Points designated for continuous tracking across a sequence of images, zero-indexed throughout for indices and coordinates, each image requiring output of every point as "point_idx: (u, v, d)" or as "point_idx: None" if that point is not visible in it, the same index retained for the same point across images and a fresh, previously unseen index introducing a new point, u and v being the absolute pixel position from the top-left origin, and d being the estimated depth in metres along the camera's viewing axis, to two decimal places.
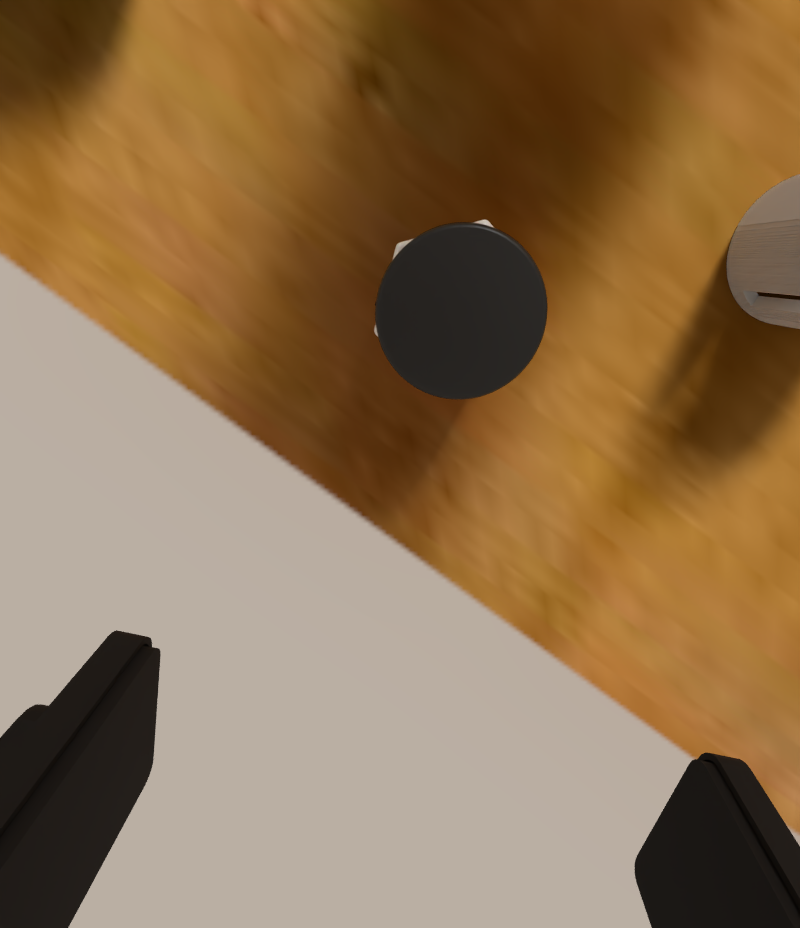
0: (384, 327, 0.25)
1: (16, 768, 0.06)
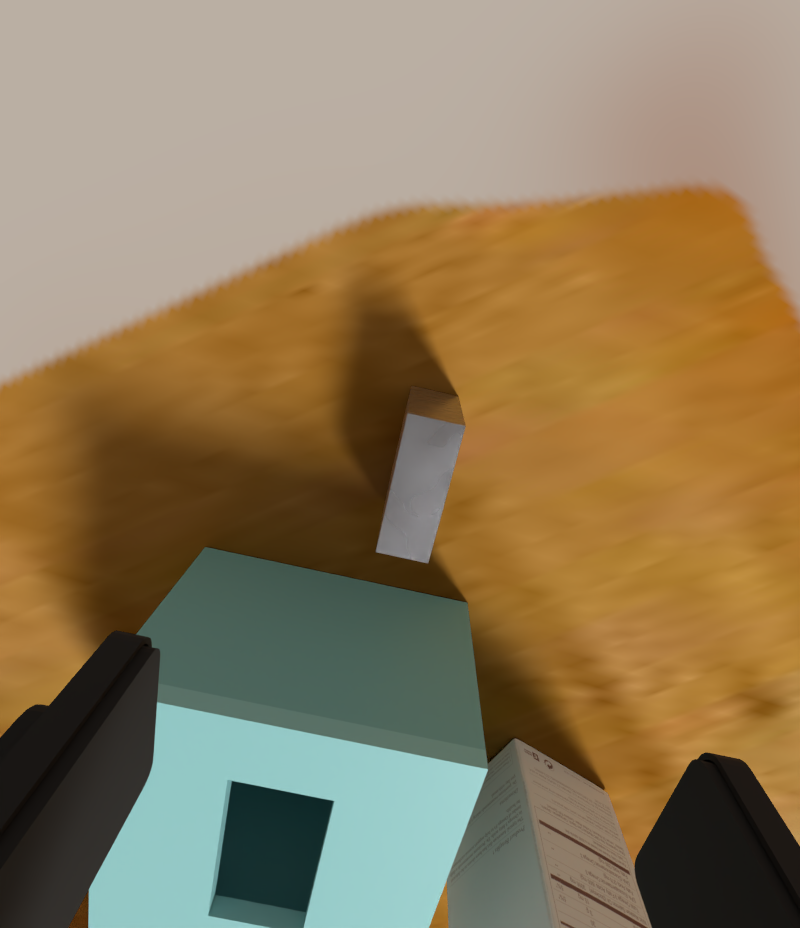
0: None
1: (16, 768, 0.06)
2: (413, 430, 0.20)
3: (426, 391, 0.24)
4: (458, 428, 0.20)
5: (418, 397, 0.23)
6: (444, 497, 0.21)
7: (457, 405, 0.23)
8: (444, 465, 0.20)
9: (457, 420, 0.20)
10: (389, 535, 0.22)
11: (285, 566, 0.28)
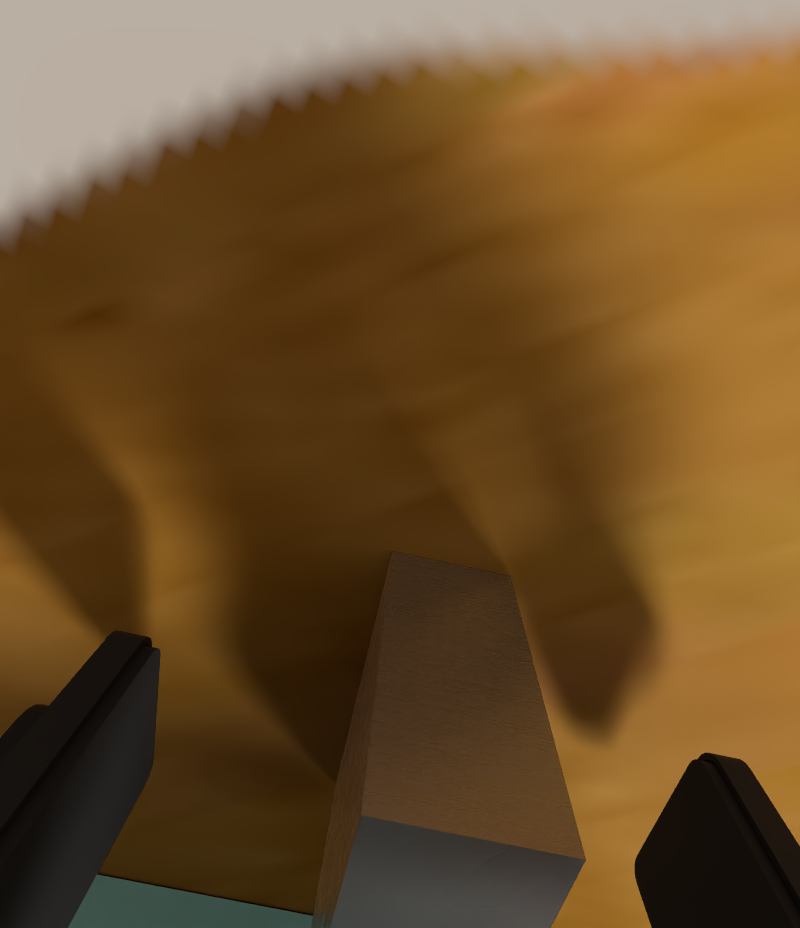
0: None
1: (16, 768, 0.06)
2: (385, 864, 0.05)
3: (430, 575, 0.09)
4: (557, 863, 0.05)
5: (408, 627, 0.08)
6: None
7: (519, 644, 0.08)
8: None
9: (545, 799, 0.06)
10: None
11: (131, 890, 0.13)
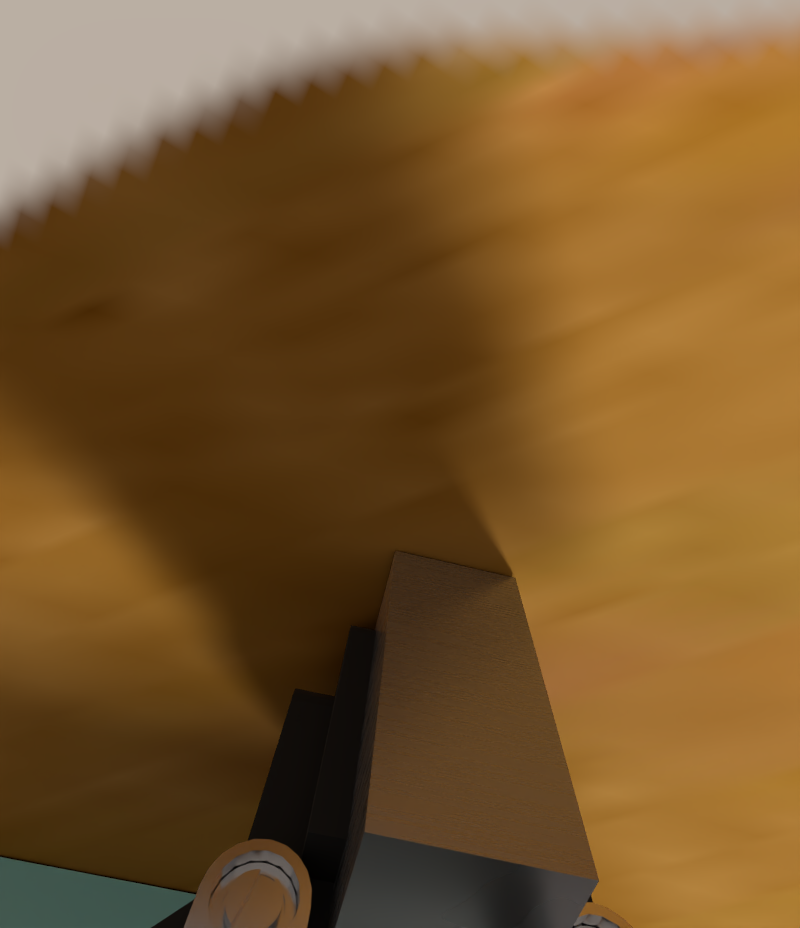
0: None
1: (342, 736, 0.07)
2: (388, 882, 0.05)
3: (434, 578, 0.09)
4: (568, 883, 0.05)
5: (412, 631, 0.08)
6: None
7: (526, 650, 0.08)
8: None
9: (556, 815, 0.05)
10: None
11: (130, 891, 0.13)
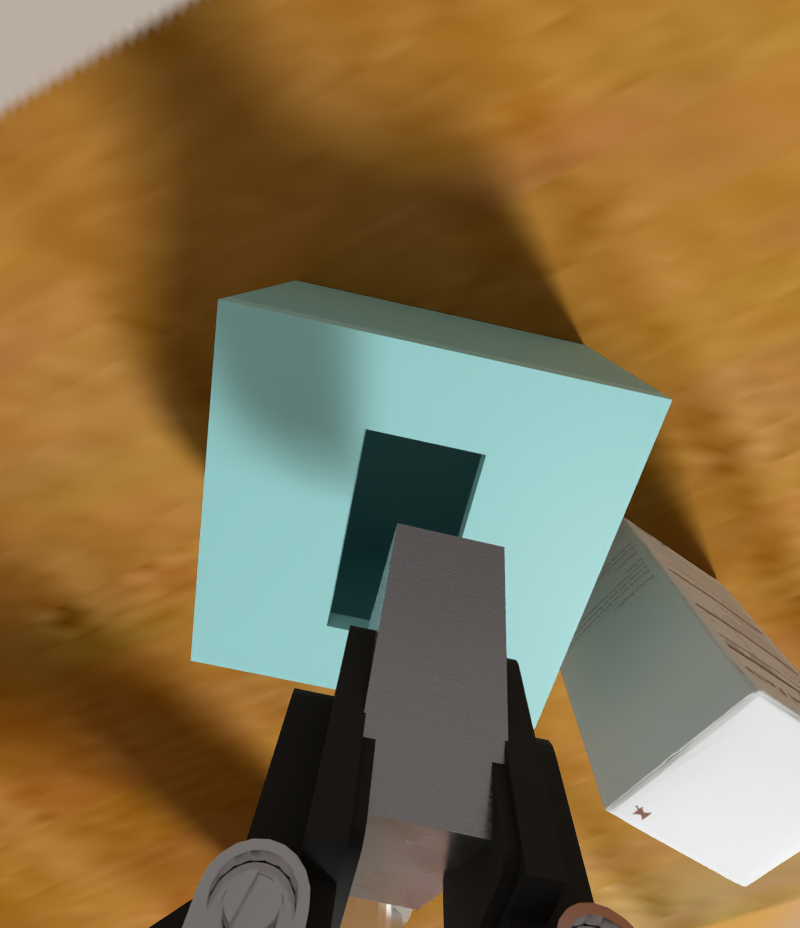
0: None
1: (341, 736, 0.07)
2: (366, 827, 0.07)
3: (429, 555, 0.10)
4: (489, 841, 0.07)
5: (402, 620, 0.09)
6: None
7: (498, 632, 0.09)
8: (450, 864, 0.08)
9: (489, 792, 0.07)
10: None
11: (385, 300, 0.25)
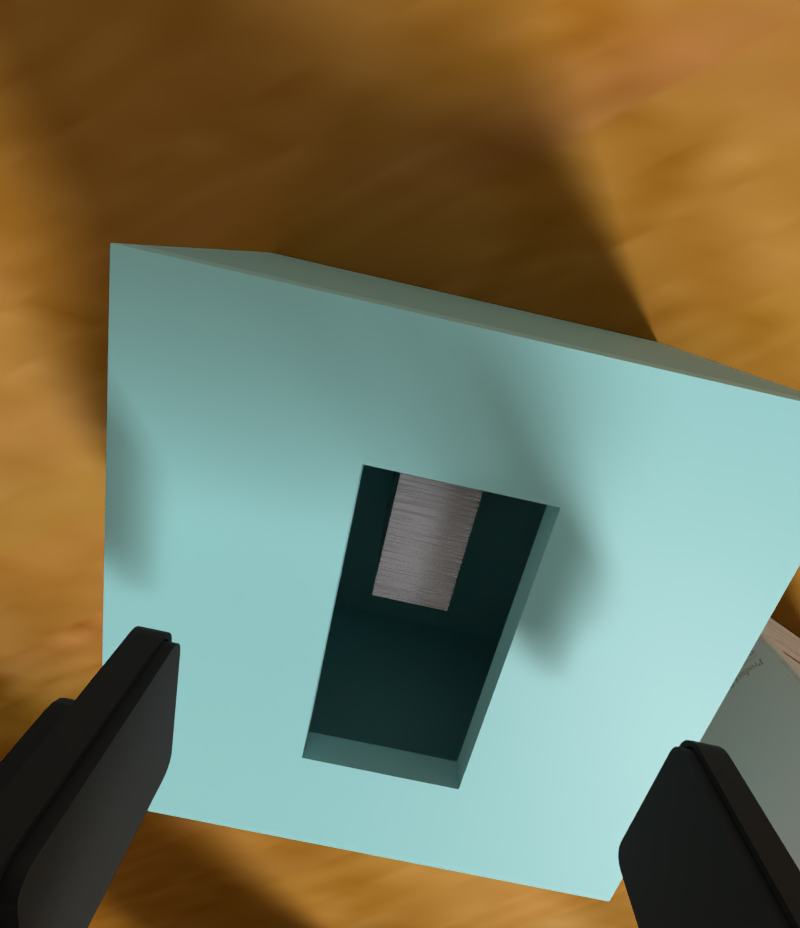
0: None
1: (48, 757, 0.06)
2: None
3: None
4: None
5: (406, 507, 0.14)
6: None
7: (470, 516, 0.14)
8: None
9: (442, 592, 0.15)
10: None
11: (391, 280, 0.18)
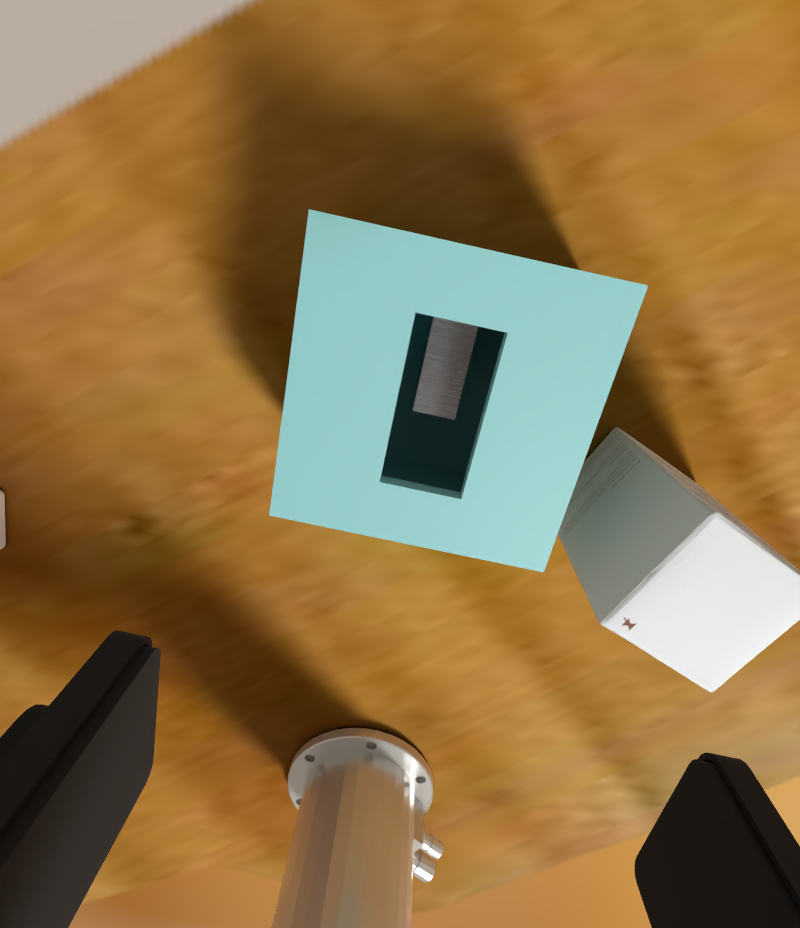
0: None
1: (16, 768, 0.06)
2: None
3: (446, 328, 0.26)
4: (450, 417, 0.28)
5: (432, 356, 0.26)
6: None
7: (466, 360, 0.26)
8: None
9: (451, 408, 0.27)
10: None
11: None
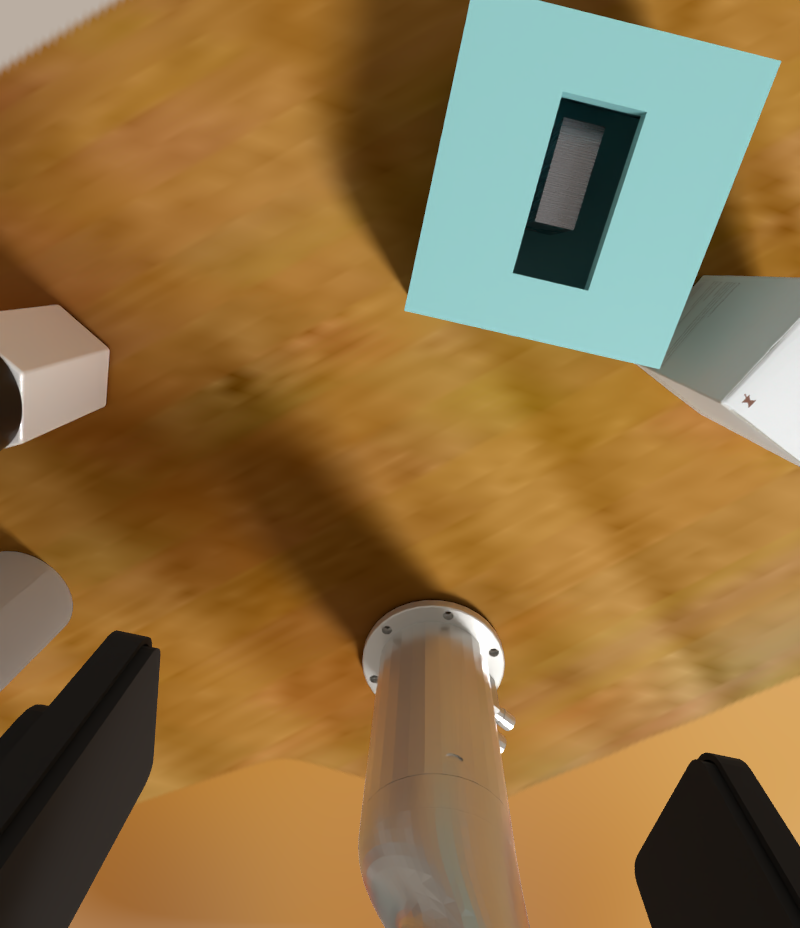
0: None
1: (16, 768, 0.06)
2: (538, 223, 0.30)
3: (573, 133, 0.28)
4: (569, 229, 0.29)
5: (558, 163, 0.28)
6: (560, 232, 0.32)
7: (590, 168, 0.28)
8: (559, 230, 0.31)
9: (572, 218, 0.29)
10: (525, 228, 0.34)
11: None
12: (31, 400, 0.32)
